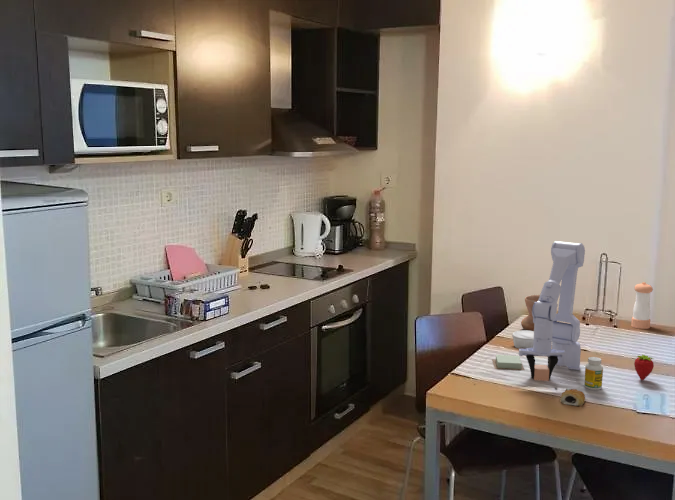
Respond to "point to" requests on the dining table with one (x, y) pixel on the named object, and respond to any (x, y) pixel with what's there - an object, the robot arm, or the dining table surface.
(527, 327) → the ceramic jug
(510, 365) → the tower top
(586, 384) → the supplement bottle
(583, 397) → the pastry
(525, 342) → the ramekin
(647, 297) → the pepper shaker
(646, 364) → the strawberry
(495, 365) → the tower base
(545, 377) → the terracotta block
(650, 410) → the dining table surface
